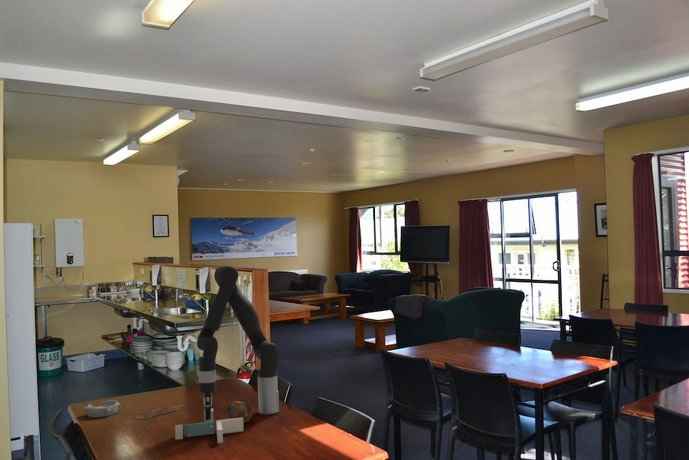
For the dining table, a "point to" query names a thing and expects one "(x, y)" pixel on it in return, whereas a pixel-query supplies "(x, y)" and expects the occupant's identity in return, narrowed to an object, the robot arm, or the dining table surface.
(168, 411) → the wooden fragment
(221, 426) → the grey angled piece
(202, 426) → the teal long flat block
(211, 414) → the block
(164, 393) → the dining table surface
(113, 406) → the dish
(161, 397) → the dining table surface
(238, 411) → the tin
